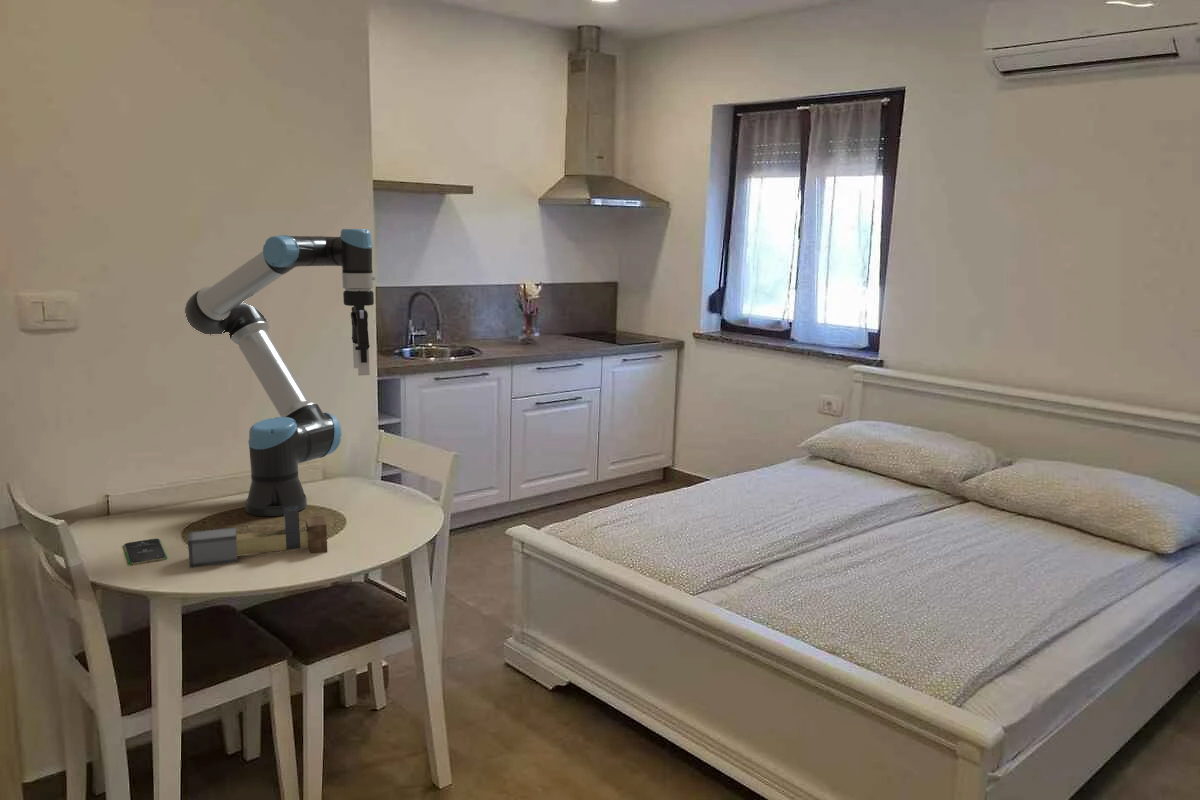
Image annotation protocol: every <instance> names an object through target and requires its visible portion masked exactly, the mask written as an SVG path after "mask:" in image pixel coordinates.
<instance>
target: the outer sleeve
mask: <svg viewBox="0 0 1200 800" xmlns="http://www.w3.org/2000/svg"><path fill="white" fill-rule="evenodd" d="M236 535H237V529H236V527H226V528H225V527H223V528H218V529H217V528H216V529H207V530H206V529H204V530H197V531H189V532H188V537H187V538H188V539H187V547H188V558H189V559H188V562H189V569H191V568H200V567H207V566H217V565H225V564H234V563H238V555H237V546H236Z"/></svg>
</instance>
